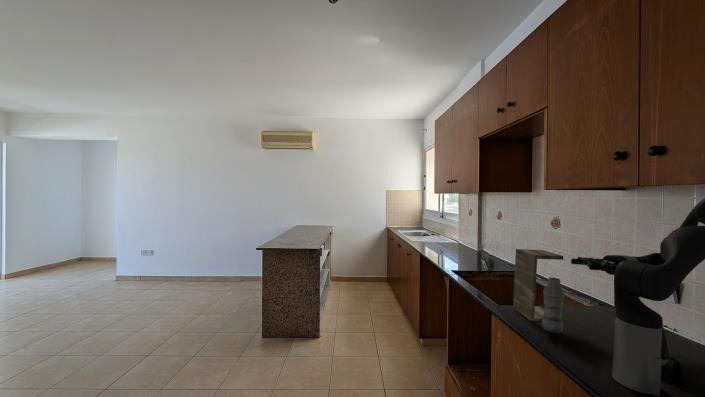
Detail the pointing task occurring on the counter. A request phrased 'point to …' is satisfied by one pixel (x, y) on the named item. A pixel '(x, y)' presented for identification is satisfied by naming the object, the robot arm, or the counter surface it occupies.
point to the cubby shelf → (528, 282)
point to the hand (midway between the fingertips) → (580, 263)
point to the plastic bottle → (553, 306)
